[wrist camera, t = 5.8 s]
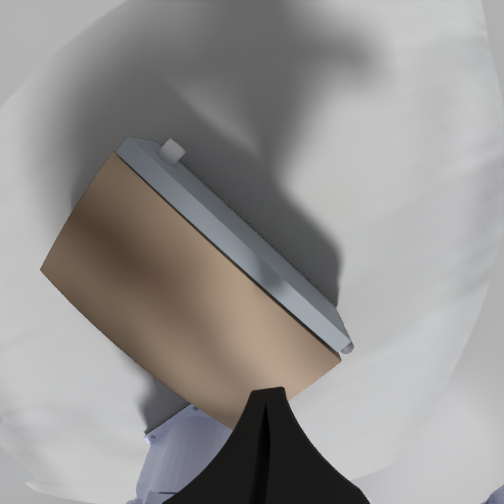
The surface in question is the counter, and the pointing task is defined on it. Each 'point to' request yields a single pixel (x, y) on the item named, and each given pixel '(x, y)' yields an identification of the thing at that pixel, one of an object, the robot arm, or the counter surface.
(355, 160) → the counter surface
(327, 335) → the door
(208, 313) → the cabinet
